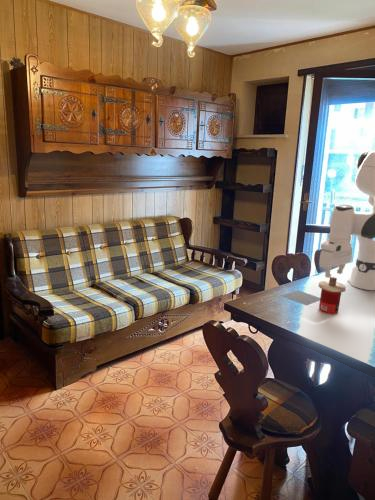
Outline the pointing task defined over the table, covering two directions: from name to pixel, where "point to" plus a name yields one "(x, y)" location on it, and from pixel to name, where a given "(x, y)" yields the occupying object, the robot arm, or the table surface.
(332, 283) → the lid
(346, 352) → the table surface
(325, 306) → the canned food
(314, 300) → the mat
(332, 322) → the table surface
